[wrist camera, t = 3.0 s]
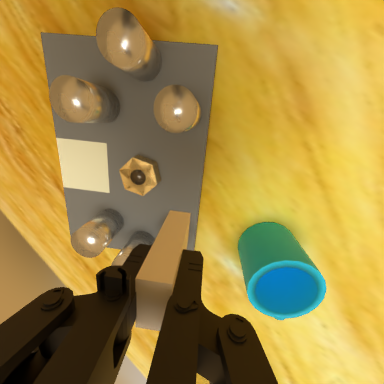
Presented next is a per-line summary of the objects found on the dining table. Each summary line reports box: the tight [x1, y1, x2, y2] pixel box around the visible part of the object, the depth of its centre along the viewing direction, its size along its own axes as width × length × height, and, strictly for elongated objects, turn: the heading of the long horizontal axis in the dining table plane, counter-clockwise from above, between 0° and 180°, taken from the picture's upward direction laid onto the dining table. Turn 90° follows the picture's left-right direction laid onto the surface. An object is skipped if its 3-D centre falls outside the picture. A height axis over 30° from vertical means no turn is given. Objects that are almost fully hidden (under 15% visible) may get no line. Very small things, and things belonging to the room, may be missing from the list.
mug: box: [238, 222, 326, 320], centre depth 25 cm, size 12×8×8 cm
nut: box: [119, 155, 161, 196], centre depth 25 cm, size 5×4×2 cm
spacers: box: [49, 8, 201, 266], centre depth 22 cm, size 28×14×6 cm, turn 175°
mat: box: [41, 32, 218, 251], centre depth 26 cm, size 28×20×1 cm
